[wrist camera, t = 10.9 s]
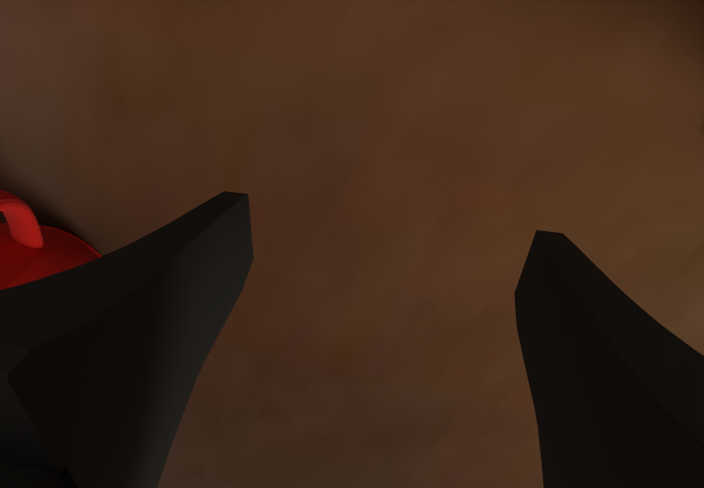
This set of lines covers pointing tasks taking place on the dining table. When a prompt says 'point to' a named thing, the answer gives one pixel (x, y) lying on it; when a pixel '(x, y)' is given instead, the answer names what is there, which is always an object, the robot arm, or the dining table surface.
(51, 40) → the dining table surface
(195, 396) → the dining table surface
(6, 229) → the ceramic cup
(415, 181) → the dining table surface
